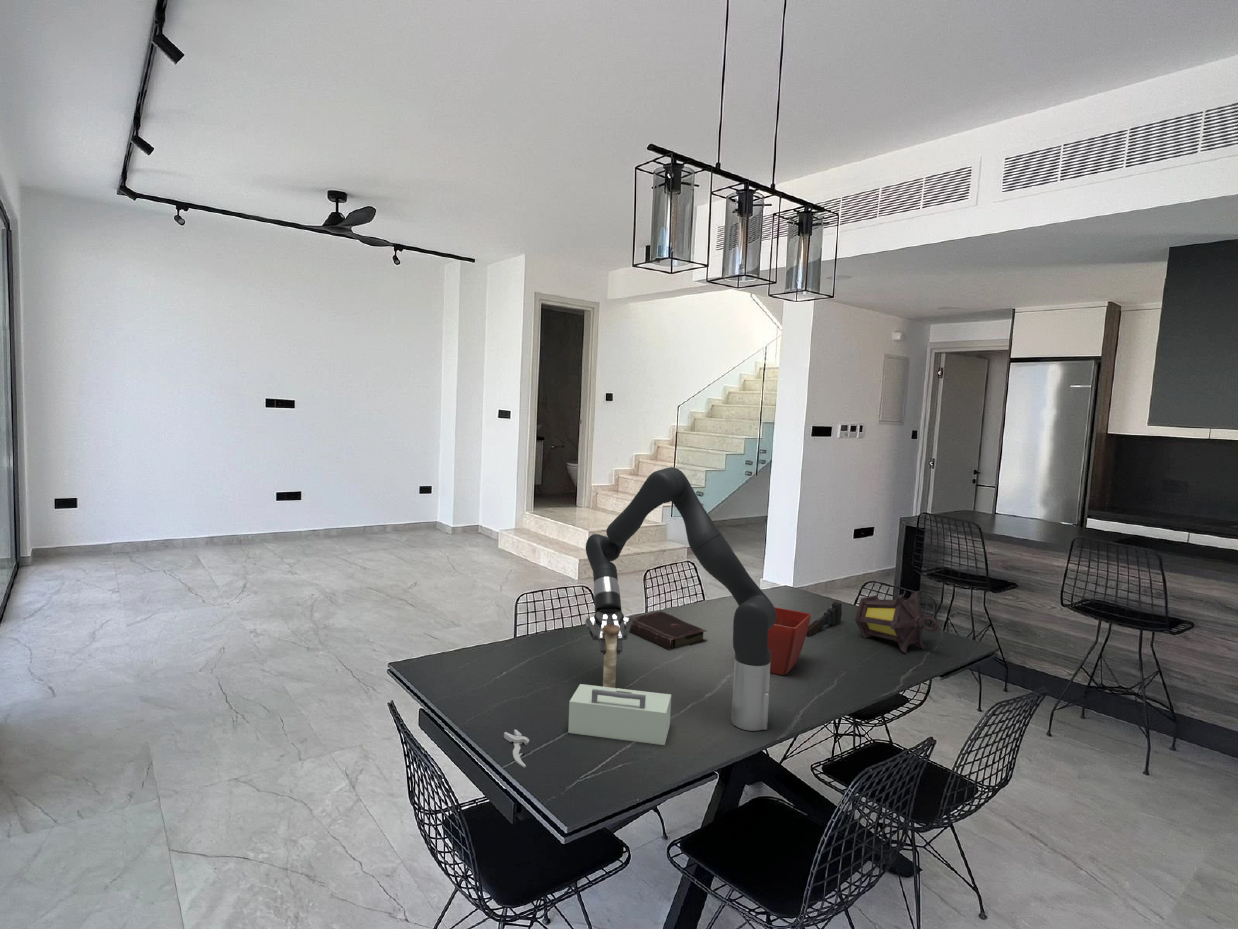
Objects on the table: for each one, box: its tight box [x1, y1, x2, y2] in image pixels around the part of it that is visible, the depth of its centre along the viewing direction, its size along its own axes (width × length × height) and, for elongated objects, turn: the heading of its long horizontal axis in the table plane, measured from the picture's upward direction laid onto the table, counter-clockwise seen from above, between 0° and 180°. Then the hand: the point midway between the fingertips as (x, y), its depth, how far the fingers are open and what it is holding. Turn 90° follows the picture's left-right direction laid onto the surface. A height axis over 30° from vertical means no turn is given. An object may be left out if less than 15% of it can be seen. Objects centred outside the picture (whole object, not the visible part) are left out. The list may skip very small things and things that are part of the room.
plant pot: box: [768, 606, 812, 676], centre depth 223 cm, size 19×19×17 cm
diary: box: [623, 610, 708, 651], centre depth 249 cm, size 19×25×5 cm
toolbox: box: [567, 683, 672, 746], centre depth 174 cm, size 24×11×12 cm, turn 79°
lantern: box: [855, 590, 939, 655], centre depth 248 cm, size 21×23×30 cm
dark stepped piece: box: [805, 601, 843, 638], centre depth 263 cm, size 8×3×25 cm
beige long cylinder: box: [602, 625, 621, 688], centre depth 189 cm, size 4×4×19 cm
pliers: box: [503, 729, 530, 768], centre depth 165 cm, size 10×2×15 cm
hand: (611, 653), depth 187 cm, fingers closed on beige long cylinder, 3 cm apart
